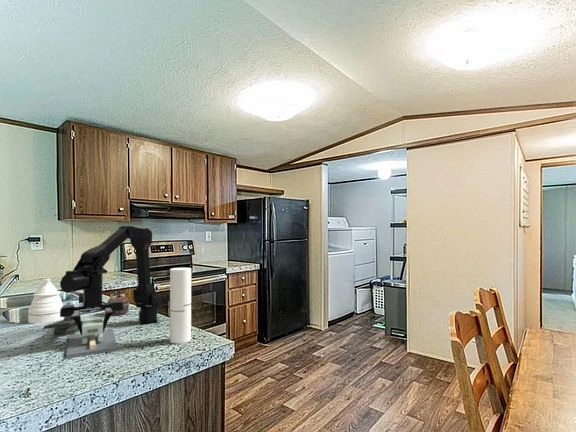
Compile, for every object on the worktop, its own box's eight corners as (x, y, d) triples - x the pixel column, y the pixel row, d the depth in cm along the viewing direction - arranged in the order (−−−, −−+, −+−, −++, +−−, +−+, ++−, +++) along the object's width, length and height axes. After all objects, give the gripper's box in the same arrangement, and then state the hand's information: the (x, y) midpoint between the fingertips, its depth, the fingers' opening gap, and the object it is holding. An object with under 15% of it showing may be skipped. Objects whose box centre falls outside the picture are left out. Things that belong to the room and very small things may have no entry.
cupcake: (132, 314, 162) (132, 292, 163) (110, 317, 156) (110, 295, 156) (125, 310, 170) (125, 289, 170) (103, 314, 163) (104, 292, 163)
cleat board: (112, 331, 134) (112, 325, 134) (117, 350, 113) (117, 343, 113) (69, 337, 127) (69, 331, 127) (66, 358, 106) (66, 351, 106)
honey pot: (63, 320, 151) (64, 279, 152) (26, 325, 144) (27, 281, 145) (63, 314, 162) (64, 275, 163) (29, 318, 155) (30, 278, 156)
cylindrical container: (194, 339, 123) (195, 268, 124) (176, 344, 118) (176, 270, 119) (184, 335, 128) (184, 267, 129) (165, 340, 123) (166, 268, 124)
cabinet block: (101, 333, 126) (101, 317, 126) (102, 341, 117) (103, 324, 117) (82, 335, 123) (82, 320, 123) (82, 344, 114) (82, 327, 114)
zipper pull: (41, 326, 118) (59, 310, 142) (40, 346, 118) (58, 327, 141) (71, 323, 122) (84, 308, 145) (71, 343, 121) (84, 324, 144)
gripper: (120, 282, 132) (120, 324, 132) (62, 286, 123) (61, 331, 123) (123, 286, 123) (123, 331, 122) (60, 291, 113) (59, 340, 113)
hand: (92, 333), depth 120 cm, fingers open, 6 cm apart
